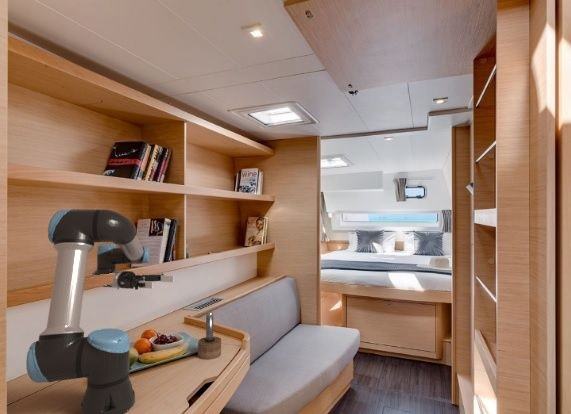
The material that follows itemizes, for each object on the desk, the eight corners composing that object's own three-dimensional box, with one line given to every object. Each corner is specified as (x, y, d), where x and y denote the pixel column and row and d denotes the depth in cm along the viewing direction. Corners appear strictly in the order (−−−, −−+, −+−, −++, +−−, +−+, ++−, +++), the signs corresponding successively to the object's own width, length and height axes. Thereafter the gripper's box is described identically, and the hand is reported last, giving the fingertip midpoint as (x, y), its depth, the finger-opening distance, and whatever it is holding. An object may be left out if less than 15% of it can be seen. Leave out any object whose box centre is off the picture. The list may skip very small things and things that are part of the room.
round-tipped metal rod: (210, 356, 137) (211, 312, 138) (204, 355, 138) (204, 312, 139) (214, 353, 140) (214, 310, 141) (208, 352, 141) (208, 310, 141)
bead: (214, 360, 133) (214, 346, 133) (193, 357, 136) (193, 343, 136) (224, 351, 142) (224, 337, 143) (205, 348, 145) (205, 335, 145)
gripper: (143, 282, 156) (181, 284, 149) (99, 294, 132) (142, 297, 126) (143, 267, 156) (181, 268, 150) (100, 275, 132) (142, 278, 126)
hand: (163, 281), depth 138 cm, fingers open, 13 cm apart
